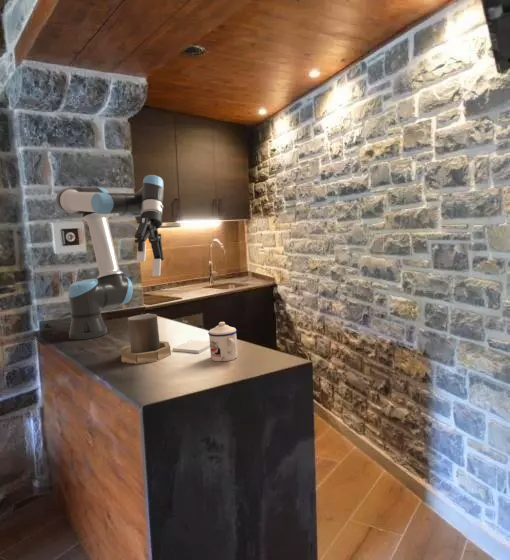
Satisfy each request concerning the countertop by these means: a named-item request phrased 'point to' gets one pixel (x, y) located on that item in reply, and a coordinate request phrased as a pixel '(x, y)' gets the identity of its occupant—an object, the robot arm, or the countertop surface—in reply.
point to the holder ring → (145, 354)
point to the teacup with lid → (223, 342)
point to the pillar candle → (143, 333)
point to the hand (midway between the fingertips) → (148, 268)
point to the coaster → (193, 346)
